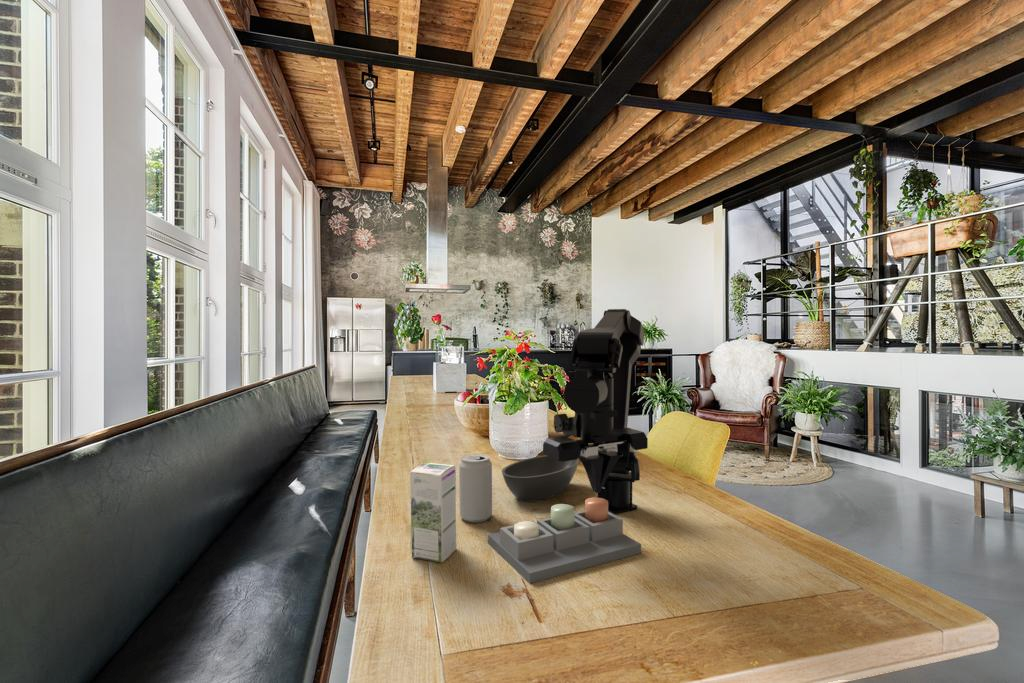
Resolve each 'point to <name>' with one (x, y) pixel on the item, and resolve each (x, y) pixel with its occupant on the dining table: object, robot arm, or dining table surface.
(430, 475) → the syrup box
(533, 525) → the cream button
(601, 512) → the rust button
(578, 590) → the dining table surface
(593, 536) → the panel
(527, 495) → the bowl
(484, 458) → the beverage can
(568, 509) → the sage button
